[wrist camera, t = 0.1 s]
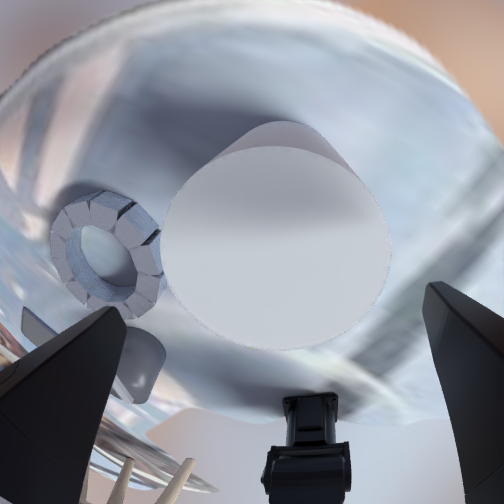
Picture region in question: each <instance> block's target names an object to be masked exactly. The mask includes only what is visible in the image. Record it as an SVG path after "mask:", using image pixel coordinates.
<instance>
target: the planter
mask: <svg viewBox="0 0 504 504" xmlns="http://www.w3.org/2000/svg"><path fill="white" fill-rule="evenodd" d="M90 457H91V456H90ZM134 462H135V461H134V460H133V459H131V458H127V459H126V461H125V463H124V465H123V467H122V470H121V472H120V474H119V476H118V479H117V481H116V483H115V486H114V488H113V490H112V492H111V495H110V497H109V500H108V502H107V504H122V503H123V500H124V497H125V493H126V489H127V486H128V483H129V479H130V476H131V473H132V469H133V466H134ZM195 463H196V460H194V459H192V458H186V459H185V461H184V462H183V464H182V465H181V467H180V468H179V470H178V471H177V473H176V474H175V476H174V477H173V478H172V480H171V481H170V483H169V484H168V486H167V487H166V488H165V490H164V492H163V493H162V494H161V496H160V497H159V498H158V500H157V501H156V503H155V504H174V502H175V500H176V498H177V496H178V495H179V493H180V491H181V489H182V488H183V486H184V484H185V482H186V480H187V478H188V477H189V475H190V473H191V471H192V469H193V467H194V465H195ZM89 466H90V460H89V463H88V467H87V471H86V475H85V479H84V482H83V488H82V492H81V496H80V500H79V504H91V503H88V502H86V497H87V486H88V475H89Z"/></svg>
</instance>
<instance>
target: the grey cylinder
mask: <svg viewBox="0 0 504 504" xmlns="http://www.w3.org/2000/svg"><path fill="white" fill-rule="evenodd" d="M160 255H161V261H162V266H163V270H164V273H165V276H166V279H167V282H168V284H169V286H170V288H171V290H172V292H173V293H174V295H175V297H176V298H177V300H178V301H179V303H180V304H181V305H182V306H183V308H184V309H185V310H186V311H187V312H188V313H189V314H190V315H191V316H192V317H193V318H194V319H195V320H196V321H197V322H199V323H200V324H201V325H202V326H204V327H205V328H207V329H208V330H210V331H211V332H213V333H215V334H216V335H218V336H220V337H222V338H224V339H226V340H229V341H231V342H234V343H237V344H240V345H243V346H247V347H251V348H256V349H262V350H272V351H286V350H297V349H303V348H308V347H312V346H315V345H319V344H321V343H324V342H327V341H329V340H331V339H333V338H335V337H337V336H339V335H341V334H343V333H344V332H346V331H347V330H349V329H350V328H352V327H353V326H354V325H355V324H357V323H358V322H359V321H360V320H361V319H362V318H363V317H364V316H365V315H366V314H367V313H368V312H369V310H370V309H371V308H372V307H373V305H374V304H375V302H376V301H377V299H378V298H379V296H380V294H381V292H382V290H383V288H384V286H385V283H386V280H387V277H388V273H389V269H390V262H391V240H390V234H389V229H388V226H387V222H386V220H385V217H384V214H383V212H382V210H381V208H380V206H379V204H378V203H377V201H376V199H375V198H374V196H373V195H372V194H371V192H370V191H369V190H368V188H367V187H366V186H365V185H364V183H363V182H362V181H361V180H360V178H359V177H358V176H357V175H356V174H355V172H354V171H353V170H352V169H351V168H350V166H349V165H348V164H347V163H346V162H345V160H344V159H343V158H342V157H341V156H340V155H339V153H338V152H337V151H336V150H335V149H334V148H333V147H332V146H331V144H330V143H329V142H328V141H327V140H326V139H325V138H324V137H323V136H322V135H321V134H320V133H318V132H317V131H315V130H314V129H312V128H310V127H308V126H306V125H303V124H300V123H297V122H292V121H273V122H268V123H265V124H262V125H259V126H257V127H255V128H253V129H252V130H250V131H249V132H247V133H246V134H245V135H243V136H242V137H241V138H239V139H238V140H237V141H235V142H234V143H233V144H231V145H230V146H229V147H227V148H226V149H225V150H223V151H222V152H221V153H220V154H218V155H217V156H216V157H214V158H213V159H212V160H211V161H209V162H208V163H207V164H206V165H204V166H203V167H202V168H201V169H199V170H198V171H197V172H196V173H195V174H194V175H192V176H191V177H190V178H189V179H188V180H187V181H186V182H185V183H184V184H183V186H182V187H181V188H180V189H179V191H178V192H177V193H176V195H175V197H174V198H173V200H172V202H171V203H170V205H169V207H168V210H167V212H166V215H165V218H164V221H163V225H162V230H161V237H160Z"/></svg>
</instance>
